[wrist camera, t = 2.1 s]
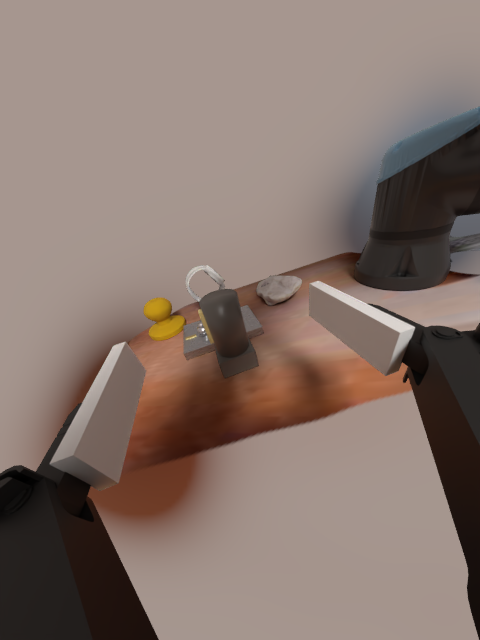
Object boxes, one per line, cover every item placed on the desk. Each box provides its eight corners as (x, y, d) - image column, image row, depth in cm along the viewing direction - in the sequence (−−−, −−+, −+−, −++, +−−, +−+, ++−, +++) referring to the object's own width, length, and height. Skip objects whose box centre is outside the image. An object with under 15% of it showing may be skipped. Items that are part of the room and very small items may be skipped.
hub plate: (248, 310, 40) (245, 295, 38) (263, 333, 32) (260, 316, 30) (186, 331, 38) (179, 317, 36) (187, 360, 31) (178, 343, 29)
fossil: (276, 302, 35) (247, 274, 40) (274, 321, 40) (248, 294, 45) (311, 282, 37) (279, 257, 42) (304, 303, 42) (276, 279, 47)
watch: (235, 310, 41) (222, 262, 35) (202, 324, 39) (182, 276, 33) (226, 302, 46) (214, 258, 40) (196, 314, 44) (178, 270, 38)
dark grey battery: (248, 344, 31) (233, 284, 25) (258, 365, 27) (243, 299, 21) (217, 355, 30) (194, 296, 24) (223, 378, 26) (196, 314, 20)
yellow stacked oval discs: (143, 337, 40) (170, 317, 46) (166, 344, 36) (193, 321, 42) (125, 308, 36) (156, 290, 42) (148, 312, 32) (180, 291, 38)
